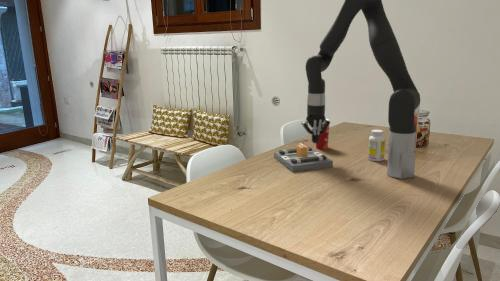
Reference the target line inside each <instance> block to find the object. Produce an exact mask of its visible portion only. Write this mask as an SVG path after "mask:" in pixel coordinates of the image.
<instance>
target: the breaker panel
mask: <svg viewBox="0 0 500 281" xmlns="http://www.w3.org/2000/svg"><path fill="white" fill-rule="evenodd" d="M279 151H280V150H279ZM279 151H273V157H274V159H276V160H277V161H278V162H280V163H281V164H282V165H283V166H284V167H286V168H287V169H288V170H289V171H291V172H292V173H296V172H303V171H308V170H309V171H310V170H318V169H325V168H332V167H333V164H334V163H333V162H334V160H332V159H331V158H329V157H327V156H326V160H318V161H310V162H302V163H294V164H293V163H292V162H291V159H295V158H304V157H299V156H298V155H297V153H291V154H283V155H281V154H280V153H279ZM320 155H323V154H322V153H320V152H319V151H317V150H315V149H313V148H312V151H308V156H306V157H312V156H320Z"/></svg>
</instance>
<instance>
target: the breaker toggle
mask: <svg viewBox="0 0 500 281" xmlns="http://www.w3.org/2000/svg"><path fill="white" fill-rule="evenodd" d="M308 147H309V146H306V145H305V144H303V143H301V142H300V143H298V144H297V145H296V149H297V155H298V156H299V157H306V156H308Z"/></svg>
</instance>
